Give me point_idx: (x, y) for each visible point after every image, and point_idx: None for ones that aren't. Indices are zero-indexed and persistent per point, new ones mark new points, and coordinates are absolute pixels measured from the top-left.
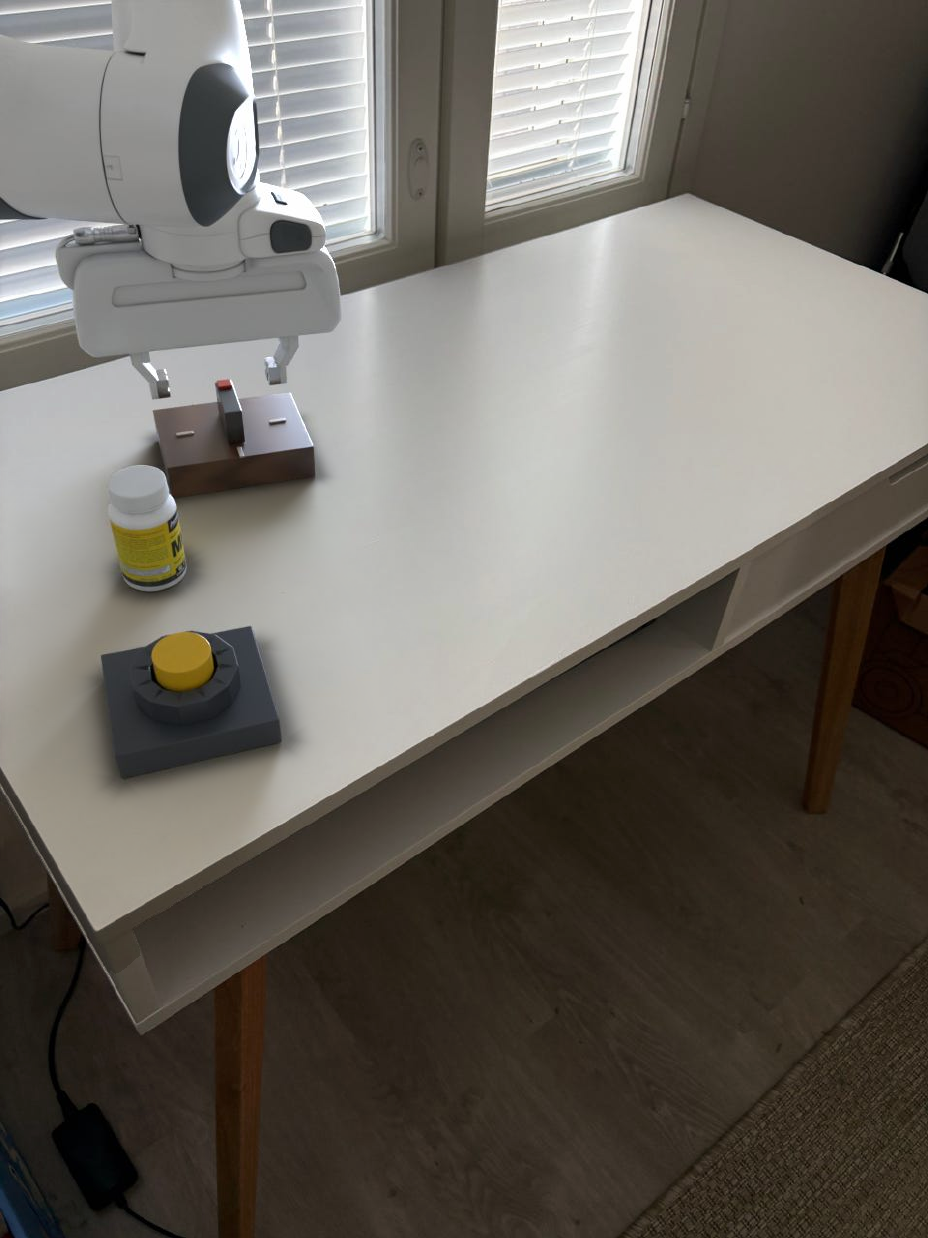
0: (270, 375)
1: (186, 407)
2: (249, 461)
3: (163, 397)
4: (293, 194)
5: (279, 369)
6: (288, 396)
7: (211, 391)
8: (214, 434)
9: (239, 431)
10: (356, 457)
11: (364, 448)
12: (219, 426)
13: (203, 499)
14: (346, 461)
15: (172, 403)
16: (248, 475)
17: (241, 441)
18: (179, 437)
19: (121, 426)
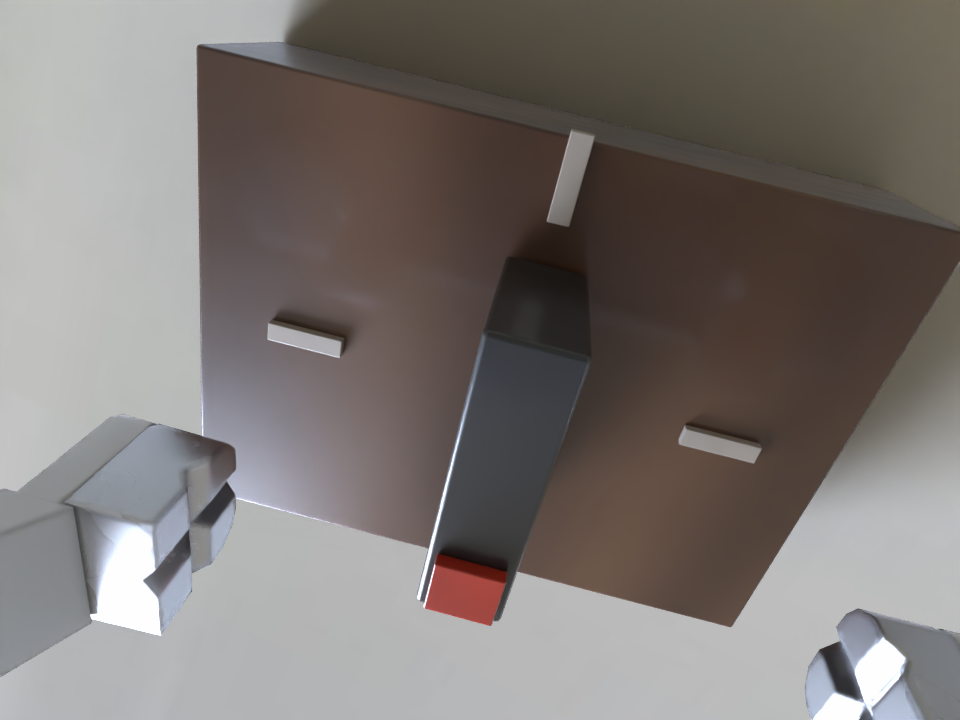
0: (180, 481)
1: (610, 585)
2: (546, 123)
3: (908, 622)
4: None
5: (86, 488)
6: None
7: (441, 641)
8: (604, 382)
9: (525, 282)
10: (87, 92)
11: (46, 137)
12: None
13: (780, 119)
14: (131, 84)
15: (568, 647)
16: (560, 118)
17: (525, 260)
18: (755, 432)
19: (761, 630)
